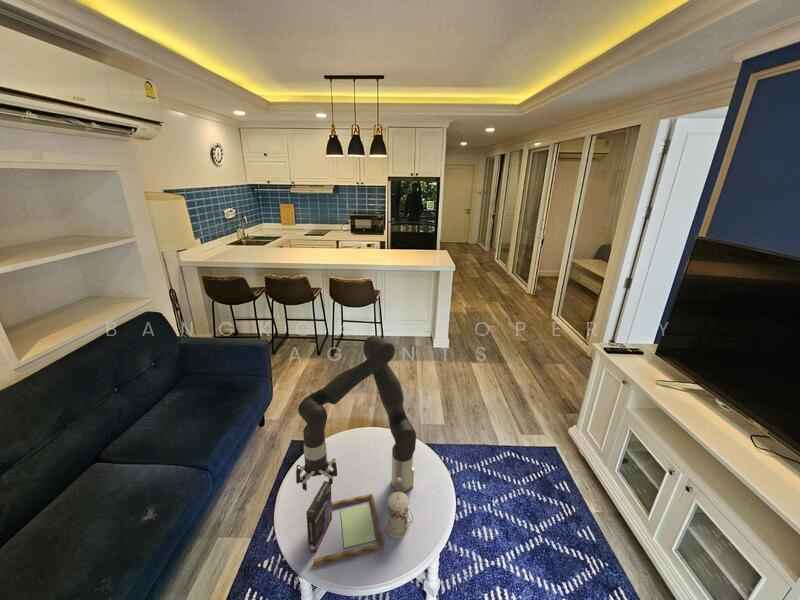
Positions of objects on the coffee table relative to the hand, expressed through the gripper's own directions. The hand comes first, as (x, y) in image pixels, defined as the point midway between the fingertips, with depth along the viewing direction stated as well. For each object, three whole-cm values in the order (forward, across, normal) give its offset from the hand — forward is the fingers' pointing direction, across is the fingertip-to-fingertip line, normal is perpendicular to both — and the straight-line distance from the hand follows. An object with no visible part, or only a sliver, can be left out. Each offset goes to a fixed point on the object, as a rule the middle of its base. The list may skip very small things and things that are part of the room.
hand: (317, 486), depth 119 cm
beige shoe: (+24, -30, +5) cm, 39 cm away
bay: (+24, -10, 0) cm, 26 cm away
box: (+24, 0, 0) cm, 24 cm away
